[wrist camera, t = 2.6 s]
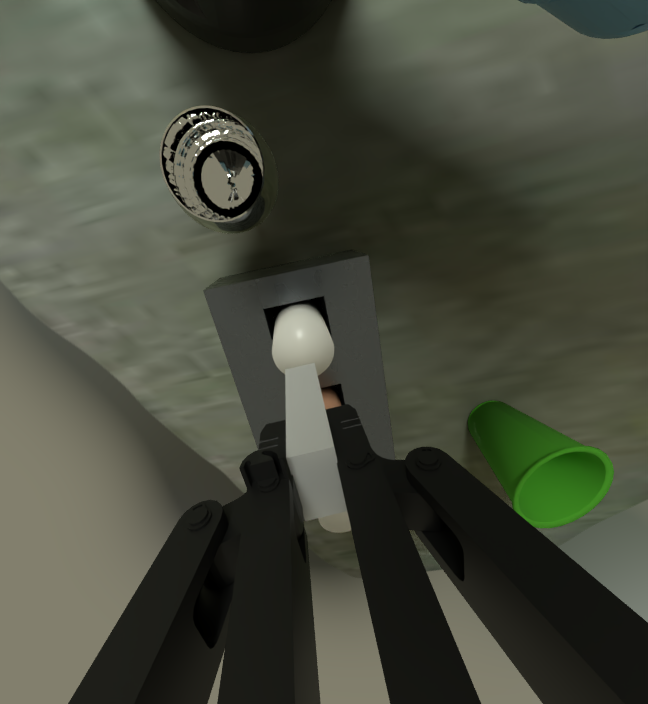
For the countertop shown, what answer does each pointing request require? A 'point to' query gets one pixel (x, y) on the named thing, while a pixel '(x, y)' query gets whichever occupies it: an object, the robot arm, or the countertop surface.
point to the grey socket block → (343, 325)
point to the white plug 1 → (301, 337)
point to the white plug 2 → (336, 522)
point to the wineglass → (219, 169)
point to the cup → (540, 465)
